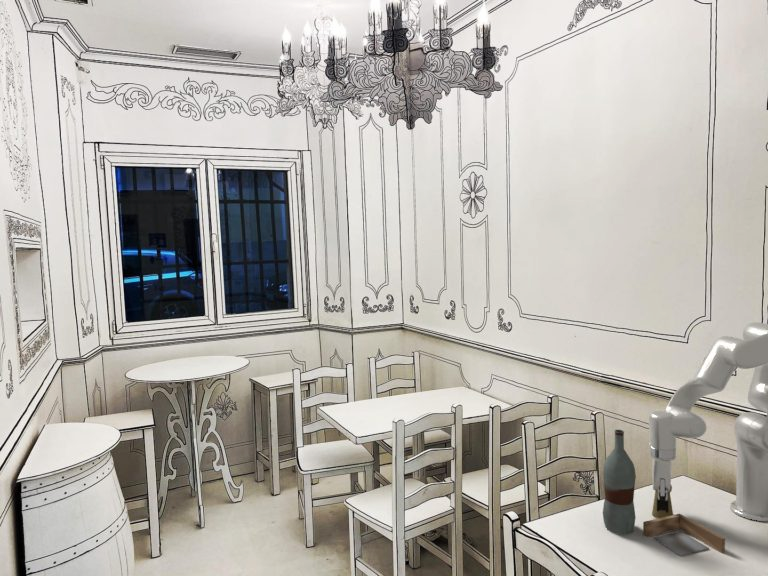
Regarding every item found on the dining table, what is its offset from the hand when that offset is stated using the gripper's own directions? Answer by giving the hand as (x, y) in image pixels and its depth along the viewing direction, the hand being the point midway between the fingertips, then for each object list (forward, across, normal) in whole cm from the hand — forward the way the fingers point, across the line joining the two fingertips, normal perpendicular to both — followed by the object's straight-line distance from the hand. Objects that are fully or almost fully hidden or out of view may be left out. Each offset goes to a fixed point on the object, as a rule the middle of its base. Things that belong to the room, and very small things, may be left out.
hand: (662, 507), depth 177 cm
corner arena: (+2, +16, +4) cm, 17 cm away
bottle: (+2, +14, -12) cm, 18 cm away
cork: (+2, 0, 0) cm, 2 cm away
